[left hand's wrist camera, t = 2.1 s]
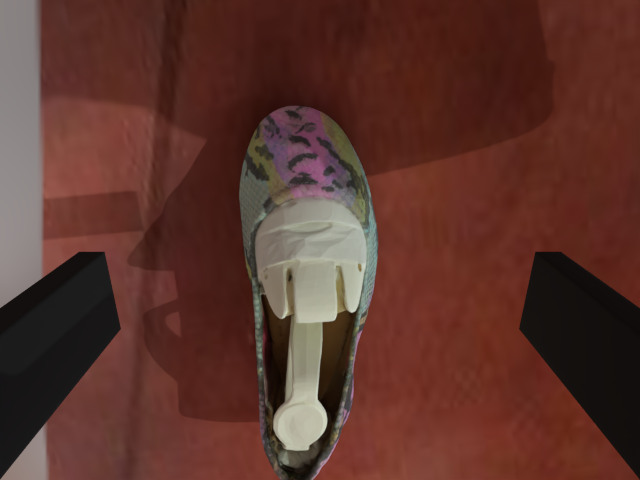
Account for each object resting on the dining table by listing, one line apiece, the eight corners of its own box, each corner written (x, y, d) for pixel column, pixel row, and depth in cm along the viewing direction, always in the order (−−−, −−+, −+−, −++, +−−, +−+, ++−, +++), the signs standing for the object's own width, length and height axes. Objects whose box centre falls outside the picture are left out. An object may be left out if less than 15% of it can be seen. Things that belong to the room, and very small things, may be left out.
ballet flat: (383, 105, 24) (415, 119, 16) (359, 420, 33) (372, 530, 25) (241, 102, 24) (202, 114, 16) (256, 418, 33) (235, 528, 25)
